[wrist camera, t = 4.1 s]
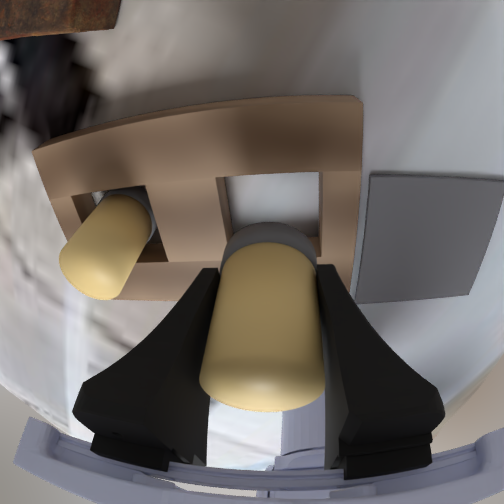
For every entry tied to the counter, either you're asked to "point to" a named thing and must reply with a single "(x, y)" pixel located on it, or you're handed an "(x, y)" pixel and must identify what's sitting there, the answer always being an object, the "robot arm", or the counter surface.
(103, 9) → the brick
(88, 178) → the socket board
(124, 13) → the counter surface
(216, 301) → the yellow peg
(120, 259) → the tan domed cylinder
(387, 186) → the mat
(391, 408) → the robot arm
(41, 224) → the counter surface
